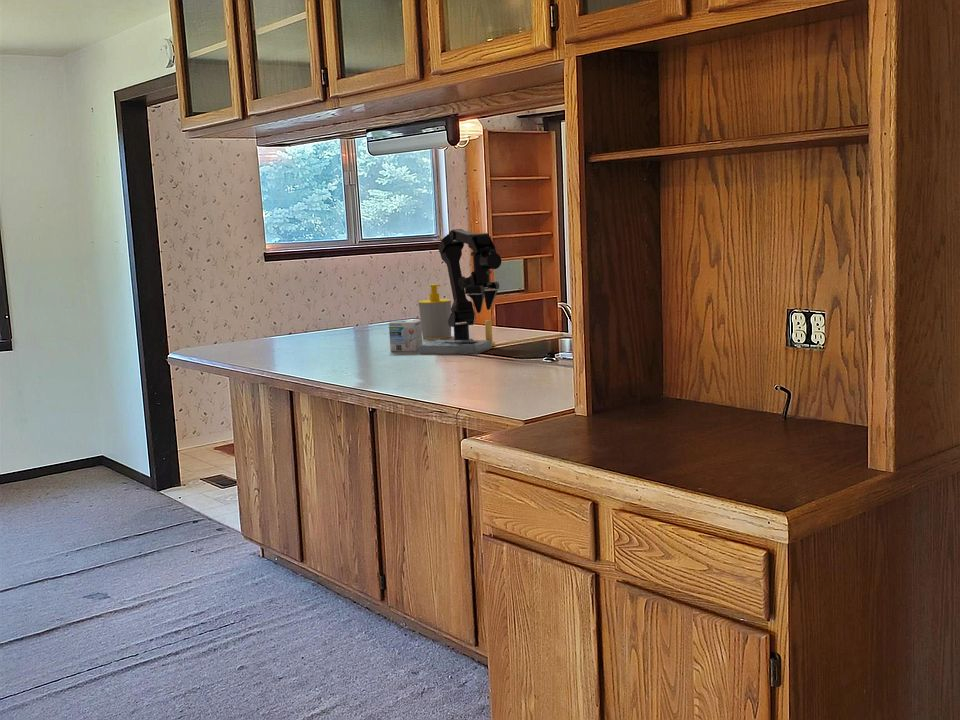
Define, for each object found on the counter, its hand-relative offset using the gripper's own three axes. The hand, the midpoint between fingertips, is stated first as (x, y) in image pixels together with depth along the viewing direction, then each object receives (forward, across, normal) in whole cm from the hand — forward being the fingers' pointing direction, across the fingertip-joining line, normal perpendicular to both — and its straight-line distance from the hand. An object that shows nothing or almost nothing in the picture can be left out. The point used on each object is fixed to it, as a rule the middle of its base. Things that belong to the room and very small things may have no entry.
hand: (483, 311), depth 345 cm
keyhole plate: (+13, +11, -7) cm, 18 cm away
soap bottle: (+13, -26, -32) cm, 43 cm away
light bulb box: (+13, +9, -28) cm, 32 cm away
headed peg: (+13, -1, +1) cm, 13 cm away
